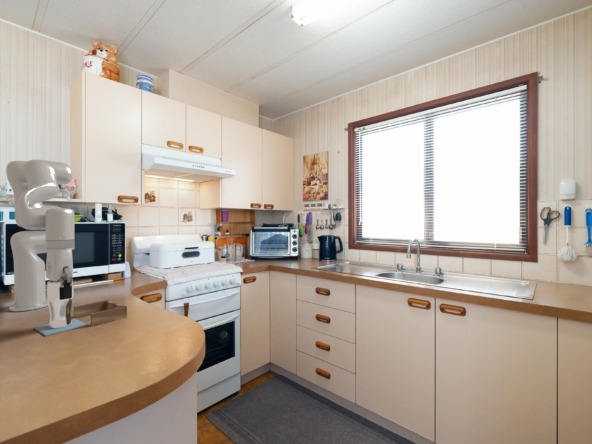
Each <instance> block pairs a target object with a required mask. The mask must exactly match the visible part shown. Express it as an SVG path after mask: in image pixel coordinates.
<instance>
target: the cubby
mask: <svg viewBox="0 0 592 444" xmlns="http://www.w3.org/2000/svg"><path fill="white" fill-rule="evenodd" d="M87 316H90V327H94V326H99V325H103V324H107V323H111V322H114V321H118V320H122V319H125V318H127V317H128V307H127V306H126V305H124V304H121V303H117V302H115V301H112V300H108V299H106V300H105V299H104V300H101V301H96V302H92V303H91V302H90V303H86V304H80V305H78V306H77V305H76V306H74V307H73V318H75V319H78V318H82V317H87Z"/></svg>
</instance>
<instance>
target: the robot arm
mask: <svg viewBox="0 0 592 444" xmlns="http://www.w3.org/2000/svg"><path fill="white" fill-rule="evenodd" d="M5 172H6V178H7V181H8V184H9V186H10V188H11V190H12V192H13V198H14V199H13V200H14V201H13V202H14V219H15V224H16V226H18V227H20V228H23V229H25V231H24V230H23V231H19V232H16V233H14V234H12V236H11V237H10V247H11V250H12V251H11V252H12V258H13V276H14V277H13V279H14V280H13V281H14V282H13V289H14V290H13V291H14V293H13V294H14V297H13V298H14V299H13V300H14V301H13V303H14V305H13V304H12V305H11V306H9V307H8V311H10V312H25V311H32V310H37V309H38V310H39V309H43V308H46V307H48V303H47V292H46V279H48V280H49V281H57V280H59V282H60V286H61V287H59V299H60V300H64V299H69V298H72V279H73V277H74V262H73V250H75V247H76V246H75V211H74V210H73V209H72V208H68V207H67V208H64V207H60V206H57V205H44V204H43V202H45V201H49V200H53V199H54V198H56V197H57V196H58V195H59V194H60V187H59V185H61V186H62V185H68V184H69V183H71V182H72V180H73V170H72V168H71V167H70V165H69V164H67V163H65V162H62V161H61V162H60V161H54V160H52V161H51V160H45V159H30V160H14V161H9V162H8V163H7V164H6V171H5ZM38 254H46V262H45V261H44V260H43V259H42V258H41V257H40V256H38ZM45 263H46V264H45ZM63 281H64V283H63Z"/></svg>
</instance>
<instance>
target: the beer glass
mask: <svg viewBox="0 0 592 444" xmlns="http://www.w3.org/2000/svg"><path fill="white" fill-rule="evenodd" d="M73 280H74V279H73V278H72V298H69V299H64V300H60V299H59V287H61V286H60V282H59V280H57V281H46V283H47V285H46V300H47V303H48V306H47V307H48V310H49V314H50V315H49V316H50V318H49V323H48V324H49V328H50V329H57V328H63V327H67V326H69V325H71V324H72V319H73V318H72V312H71V311H72V306H73V301H74V300H73V299H74V296H75V295H74V291H75V290H74V281H73ZM63 283H64V281H63Z"/></svg>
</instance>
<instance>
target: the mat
mask: <svg viewBox="0 0 592 444" xmlns="http://www.w3.org/2000/svg"><path fill="white" fill-rule="evenodd" d="M71 319H72V324H71V325H69V326H67V327H63V328H57V329H50V328H49V323H48V324H42V325H39V326H35V327H33V328H34V329H35V330H36V331H37V332H39V333H40V334H41V335H43V336H44V337H49V336H53V335H58V334H62V333H65V332H68V331H69V332H70V331H72V330H77V329H81V328H84V327H88V326H89V325H88V323H86V322H83V321H81V320H80V319H78V318H74V317H73V318H71Z"/></svg>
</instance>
